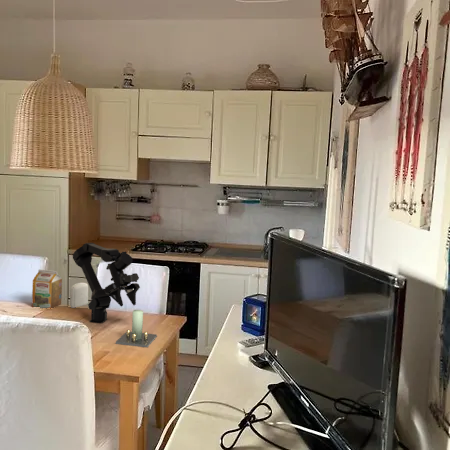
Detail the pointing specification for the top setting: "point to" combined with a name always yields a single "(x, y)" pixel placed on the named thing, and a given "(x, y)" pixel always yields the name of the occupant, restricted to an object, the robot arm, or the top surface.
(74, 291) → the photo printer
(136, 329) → the mint green tapered post
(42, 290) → the milk carton
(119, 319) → the top surface
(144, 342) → the chassis plate
